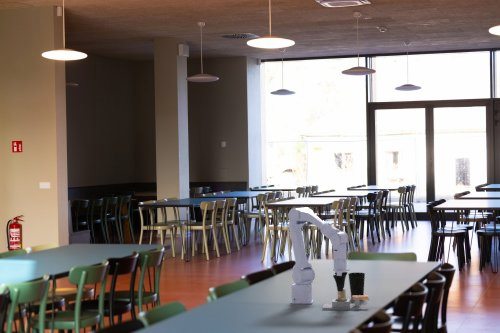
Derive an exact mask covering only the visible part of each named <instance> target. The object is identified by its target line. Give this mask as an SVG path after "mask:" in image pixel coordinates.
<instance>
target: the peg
mask: <svg viewBox="0 0 500 333" xmlns="http://www.w3.org/2000/svg"><path fill="white" fill-rule="evenodd" d="M346 291H347V290H346V289H345V288H343V291H338V290H337V292H336V293H337V299H338V301H346V299H347V297H346V296H347V295H346V294H347V293H346Z"/></svg>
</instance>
